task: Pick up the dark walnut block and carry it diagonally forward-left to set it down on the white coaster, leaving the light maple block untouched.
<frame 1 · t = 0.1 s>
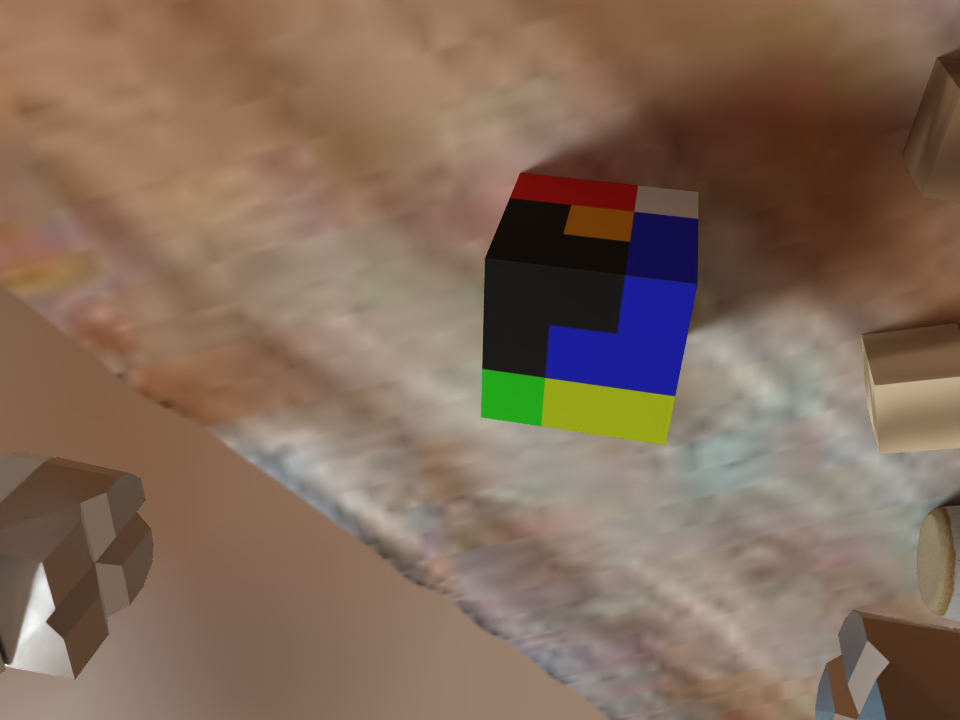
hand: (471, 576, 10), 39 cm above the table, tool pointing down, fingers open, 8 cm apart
maple block: (909, 362, 51), on the table
puzzle toy: (599, 257, 51), on the table
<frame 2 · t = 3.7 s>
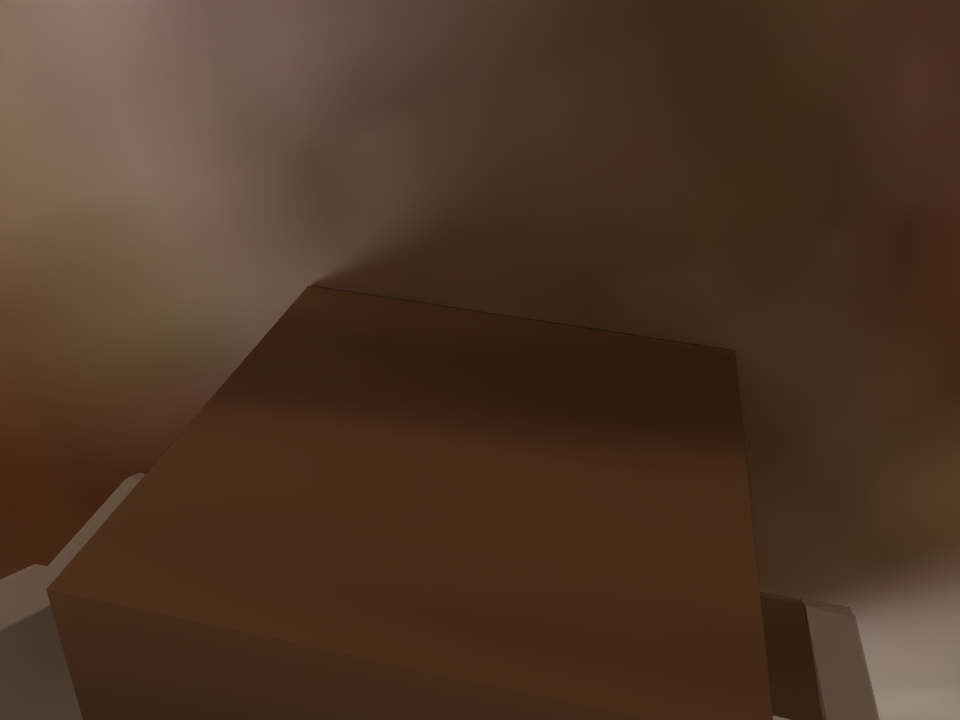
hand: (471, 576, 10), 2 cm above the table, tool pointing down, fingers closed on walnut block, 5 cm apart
walnut block: (498, 485, 11), on the table, touching gripper
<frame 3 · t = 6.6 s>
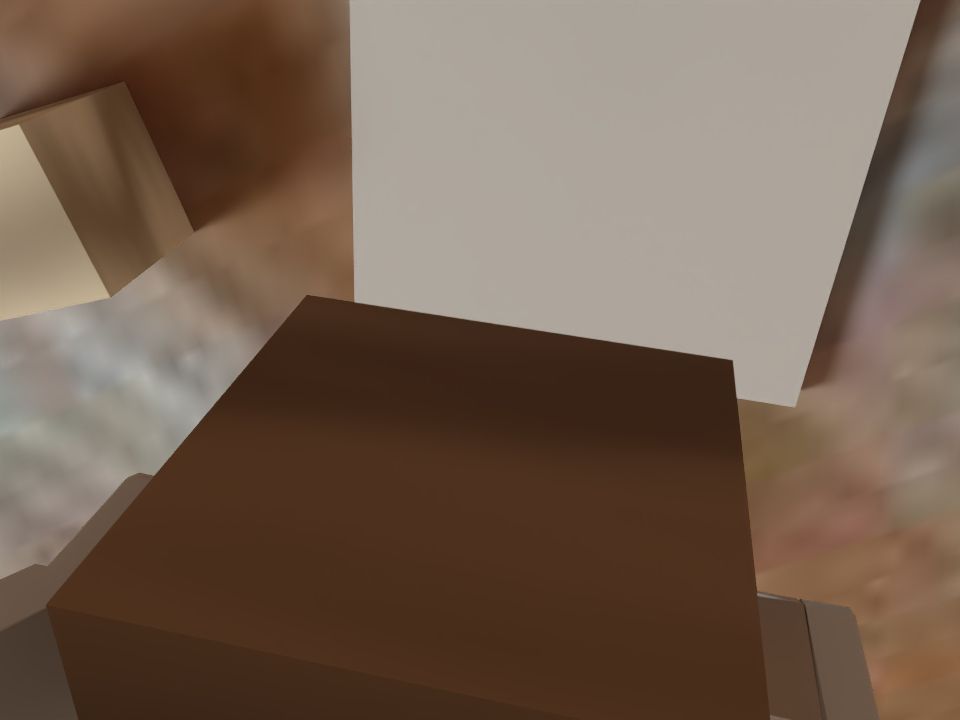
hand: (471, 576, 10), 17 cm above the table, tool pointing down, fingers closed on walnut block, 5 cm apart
maple block: (99, 175, 28), on the table
white coaster: (599, 146, 24), on the table
walnut block: (496, 493, 11), point 15 cm above the table, touching gripper
when the fingers open (3 cm above the table, at t = 9.5 s): walnut block stays where it is, resting on white coaster.
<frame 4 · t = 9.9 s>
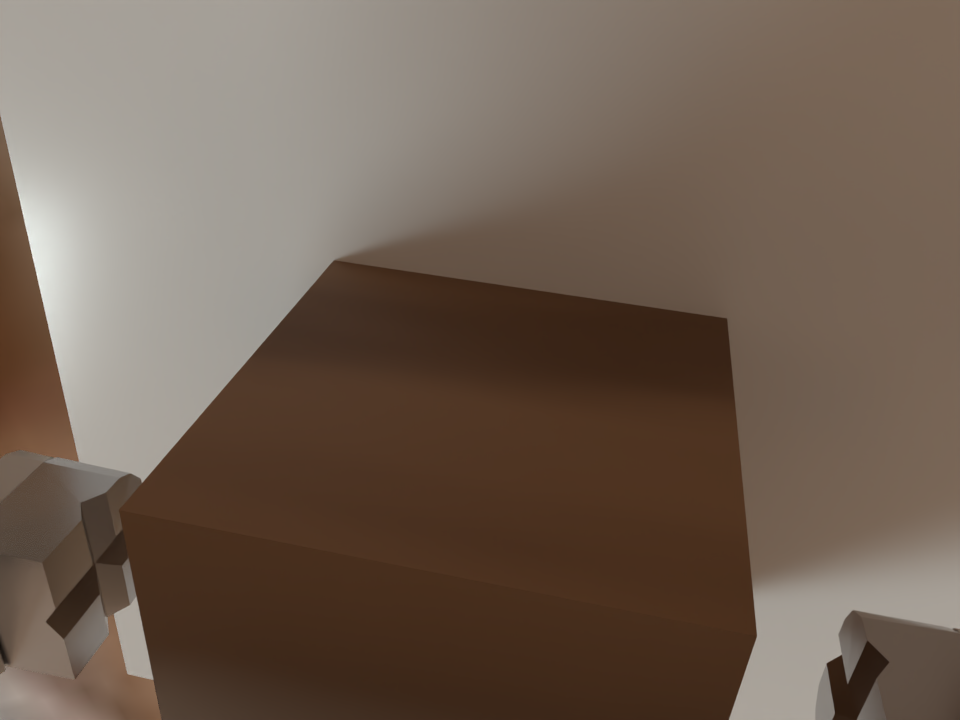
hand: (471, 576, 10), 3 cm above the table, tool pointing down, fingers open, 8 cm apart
white coaster: (520, 415, 13), on the table
walnut block: (508, 447, 12), point 1 cm above the table, touching white coaster
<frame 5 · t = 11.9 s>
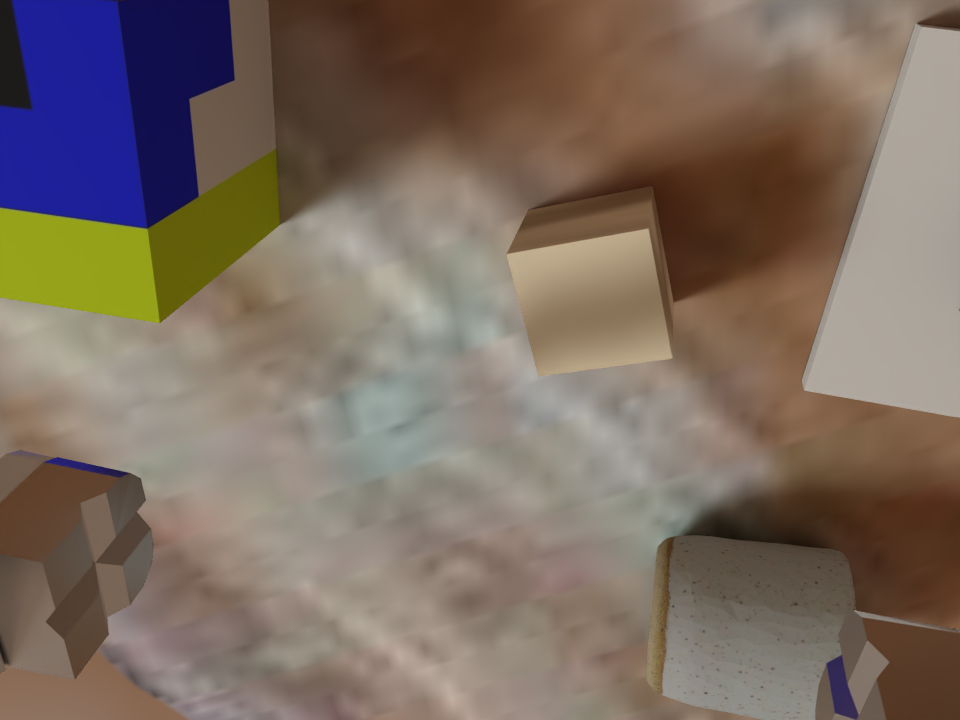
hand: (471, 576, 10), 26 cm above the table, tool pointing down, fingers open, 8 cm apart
maple block: (601, 256, 35), on the table
ceramic mug: (742, 587, 42), on the table
puzzle toy: (163, 93, 36), on the table
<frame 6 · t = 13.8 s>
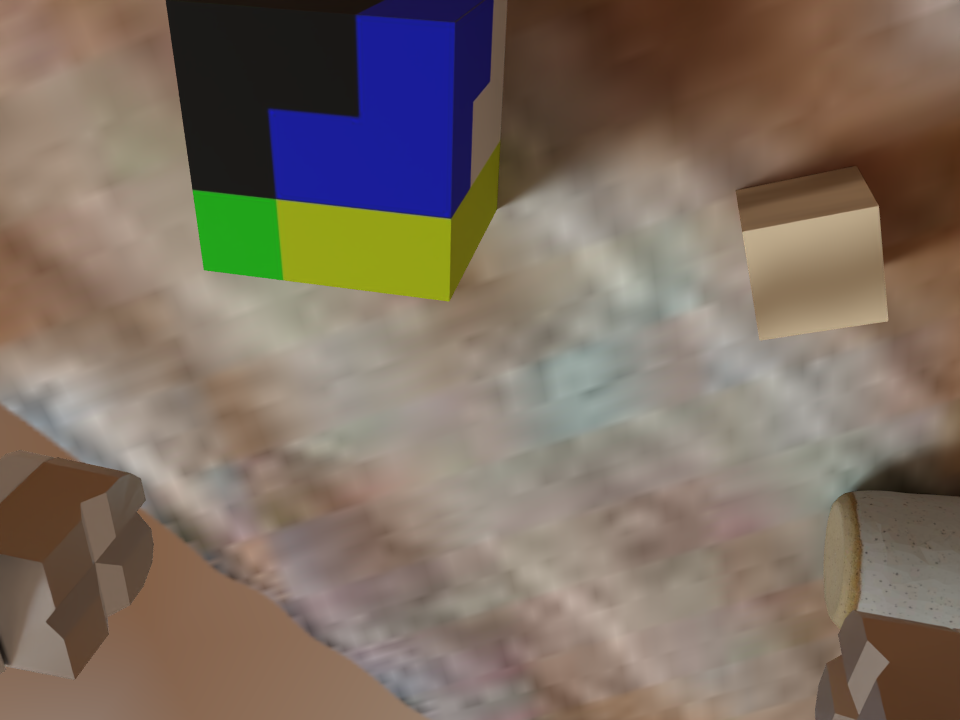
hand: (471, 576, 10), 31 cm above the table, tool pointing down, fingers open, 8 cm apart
maple block: (801, 230, 39), on the table
ceramic mug: (904, 537, 46), on the table
puzzle toy: (396, 92, 39), on the table
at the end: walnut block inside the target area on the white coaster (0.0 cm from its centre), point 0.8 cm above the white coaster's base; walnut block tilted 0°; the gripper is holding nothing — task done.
